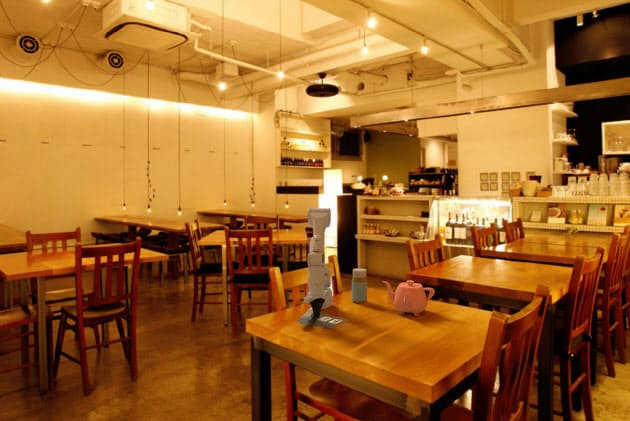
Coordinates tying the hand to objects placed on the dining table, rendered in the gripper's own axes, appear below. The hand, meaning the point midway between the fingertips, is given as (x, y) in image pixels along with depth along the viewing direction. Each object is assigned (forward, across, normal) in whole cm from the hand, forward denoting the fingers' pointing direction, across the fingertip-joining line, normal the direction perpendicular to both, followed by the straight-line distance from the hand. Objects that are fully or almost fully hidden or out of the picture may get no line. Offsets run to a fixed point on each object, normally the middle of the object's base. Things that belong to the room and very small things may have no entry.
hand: (316, 317), depth 168 cm
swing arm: (+1, +2, -2) cm, 3 cm away
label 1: (+2, -4, +1) cm, 5 cm away
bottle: (+3, -38, -2) cm, 38 cm away
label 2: (+2, -4, +6) cm, 8 cm away
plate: (+2, -3, +1) cm, 4 cm away
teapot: (+3, -34, +23) cm, 41 cm away
